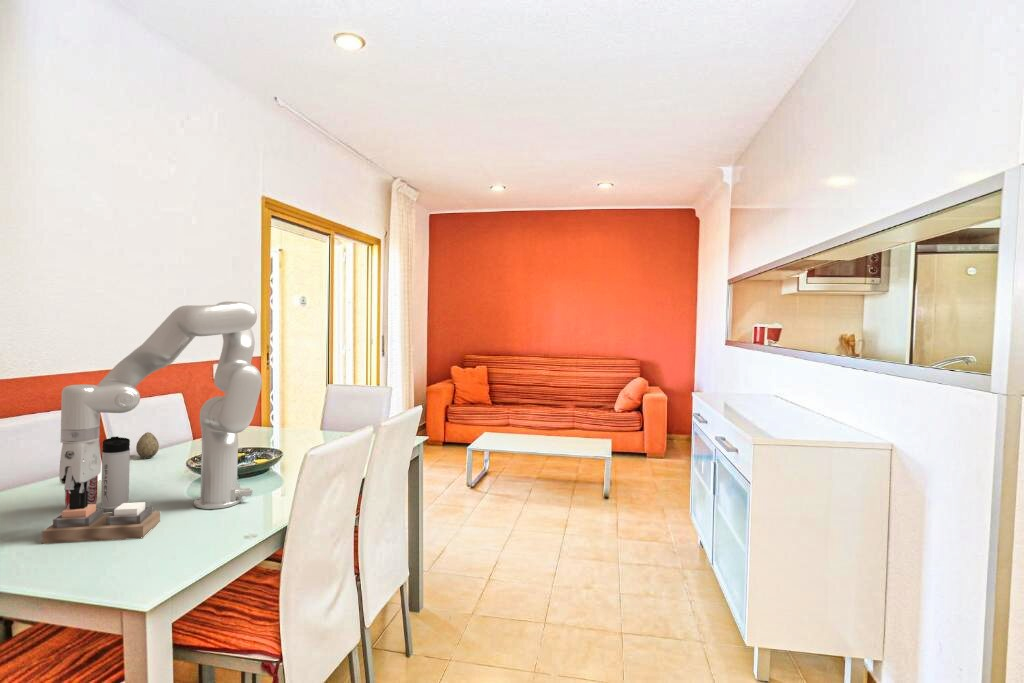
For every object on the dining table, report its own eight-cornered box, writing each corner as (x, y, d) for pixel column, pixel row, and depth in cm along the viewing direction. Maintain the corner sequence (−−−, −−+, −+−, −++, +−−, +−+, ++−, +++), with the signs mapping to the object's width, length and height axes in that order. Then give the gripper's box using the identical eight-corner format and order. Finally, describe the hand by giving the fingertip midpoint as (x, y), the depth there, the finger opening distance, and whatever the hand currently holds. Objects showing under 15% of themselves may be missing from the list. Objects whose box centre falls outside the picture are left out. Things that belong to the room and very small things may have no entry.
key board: (160, 522, 142) (160, 503, 142) (142, 538, 132) (143, 518, 132) (67, 526, 137) (67, 507, 137) (41, 543, 126) (42, 522, 126)
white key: (145, 509, 139) (145, 502, 139) (136, 516, 134) (137, 508, 134) (123, 510, 137) (123, 503, 137) (113, 517, 133) (114, 509, 133)
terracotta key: (95, 511, 136) (96, 503, 136) (85, 518, 131) (85, 510, 131) (72, 512, 135) (73, 504, 135) (61, 519, 130) (61, 511, 130)
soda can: (78, 513, 146) (79, 470, 146) (58, 510, 147) (58, 467, 147) (103, 505, 153) (104, 463, 153) (83, 502, 154) (84, 461, 154)
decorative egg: (160, 458, 204) (161, 432, 204) (138, 461, 199) (139, 435, 199) (155, 454, 209) (156, 429, 209) (133, 457, 204) (134, 431, 204)
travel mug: (126, 503, 155) (127, 435, 154) (130, 509, 150) (132, 439, 150) (99, 508, 151) (100, 437, 150) (102, 514, 146) (104, 442, 145)
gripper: (82, 441, 126) (80, 517, 126) (112, 428, 140) (110, 497, 141) (44, 441, 124) (42, 519, 124) (78, 429, 138) (76, 499, 139)
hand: (78, 507), depth 133 cm, fingers closed
